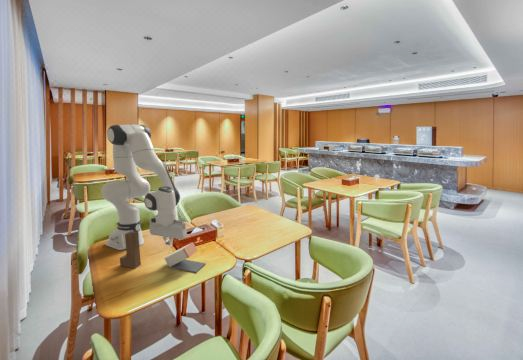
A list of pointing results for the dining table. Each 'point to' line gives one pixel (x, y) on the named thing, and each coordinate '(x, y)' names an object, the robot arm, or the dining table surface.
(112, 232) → the robot arm
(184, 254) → the cream block
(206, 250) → the dining table surface
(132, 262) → the wooden block
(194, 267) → the mat
